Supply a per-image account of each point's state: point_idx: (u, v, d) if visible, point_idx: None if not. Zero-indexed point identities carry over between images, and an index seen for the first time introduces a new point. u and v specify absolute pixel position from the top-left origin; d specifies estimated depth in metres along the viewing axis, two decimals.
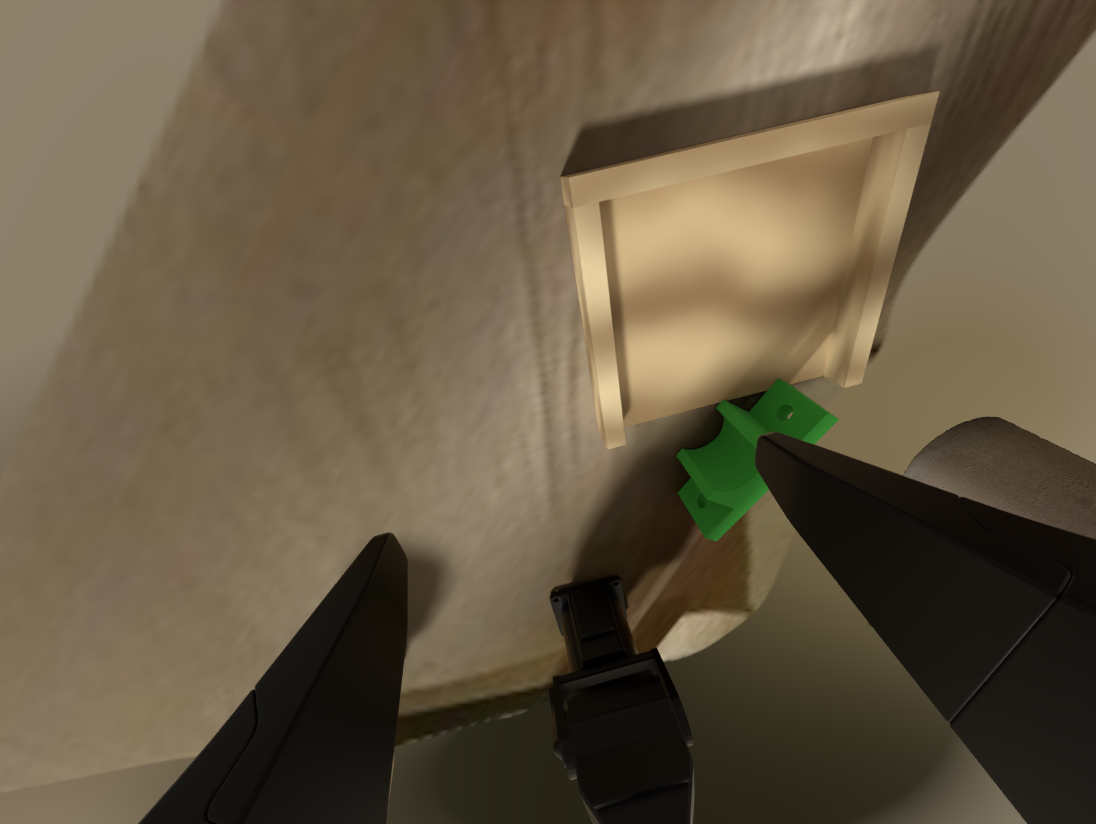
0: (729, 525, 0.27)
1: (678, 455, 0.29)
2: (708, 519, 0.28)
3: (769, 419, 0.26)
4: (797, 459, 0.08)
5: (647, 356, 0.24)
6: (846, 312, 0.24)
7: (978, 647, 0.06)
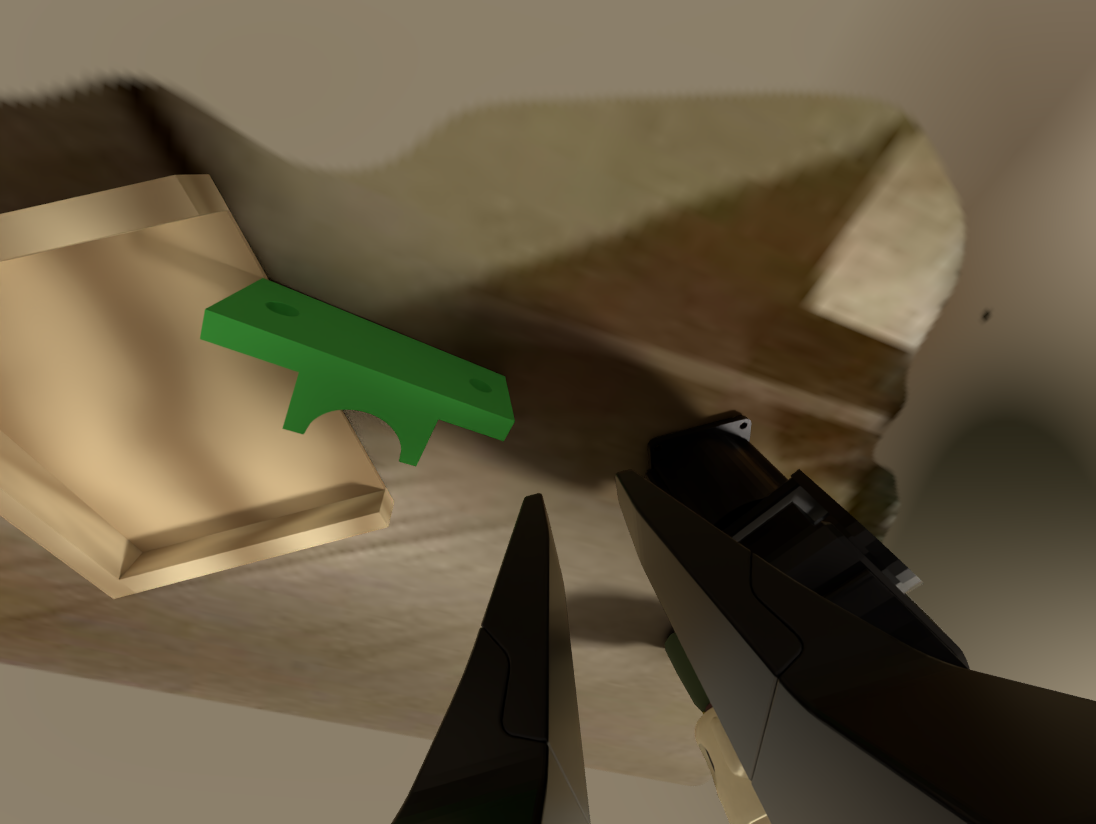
0: (478, 413, 0.17)
1: None
2: None
3: None
4: (632, 503, 0.08)
5: (279, 480, 0.22)
6: (84, 242, 0.14)
7: (749, 713, 0.06)
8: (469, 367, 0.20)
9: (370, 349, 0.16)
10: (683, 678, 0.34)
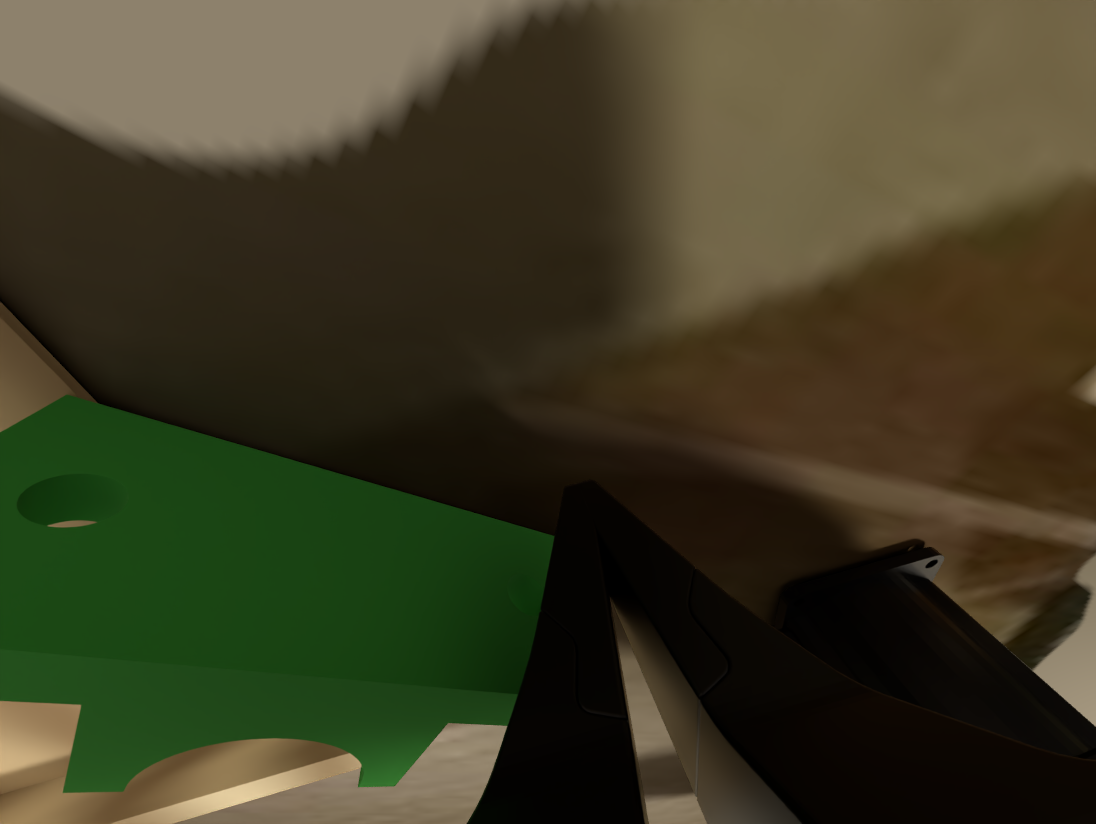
0: None
1: None
2: None
3: None
4: (588, 515, 0.08)
5: None
6: None
7: (687, 731, 0.06)
8: (502, 539, 0.11)
9: (300, 576, 0.07)
10: None
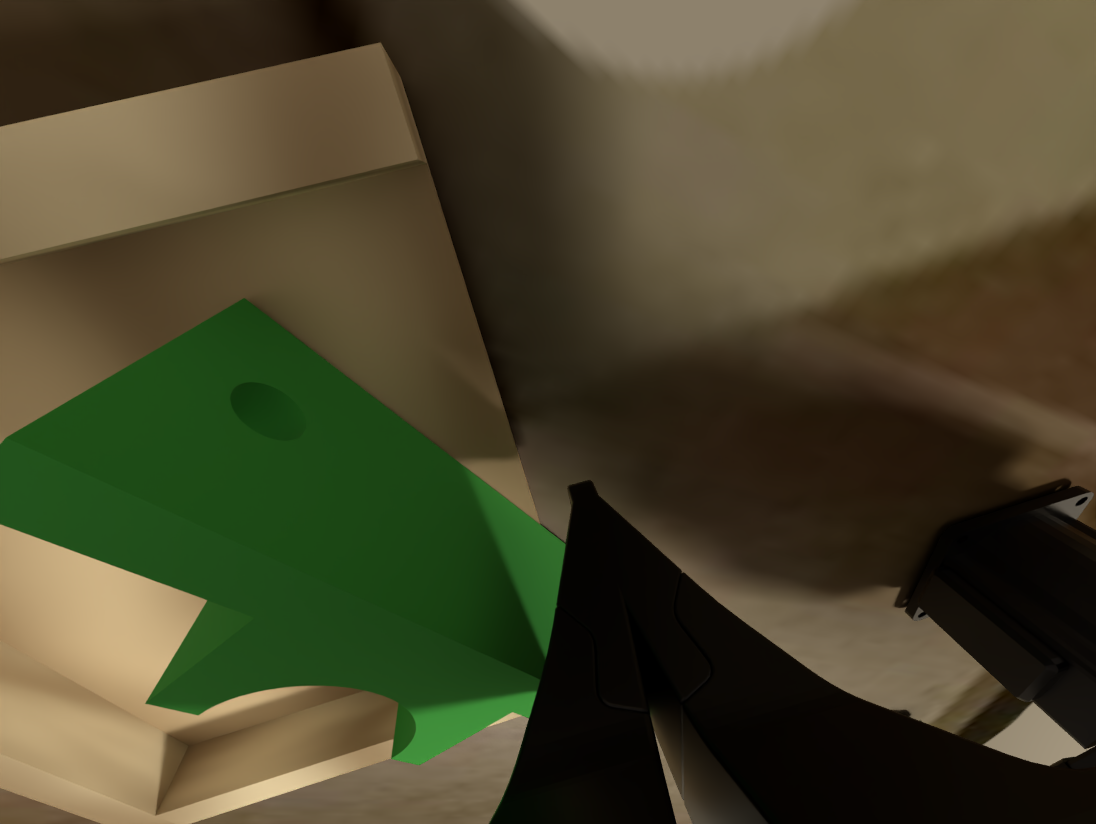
0: None
1: None
2: None
3: None
4: (577, 517, 0.08)
5: None
6: (114, 236, 0.06)
7: (672, 735, 0.06)
8: (552, 550, 0.11)
9: (432, 541, 0.07)
10: None
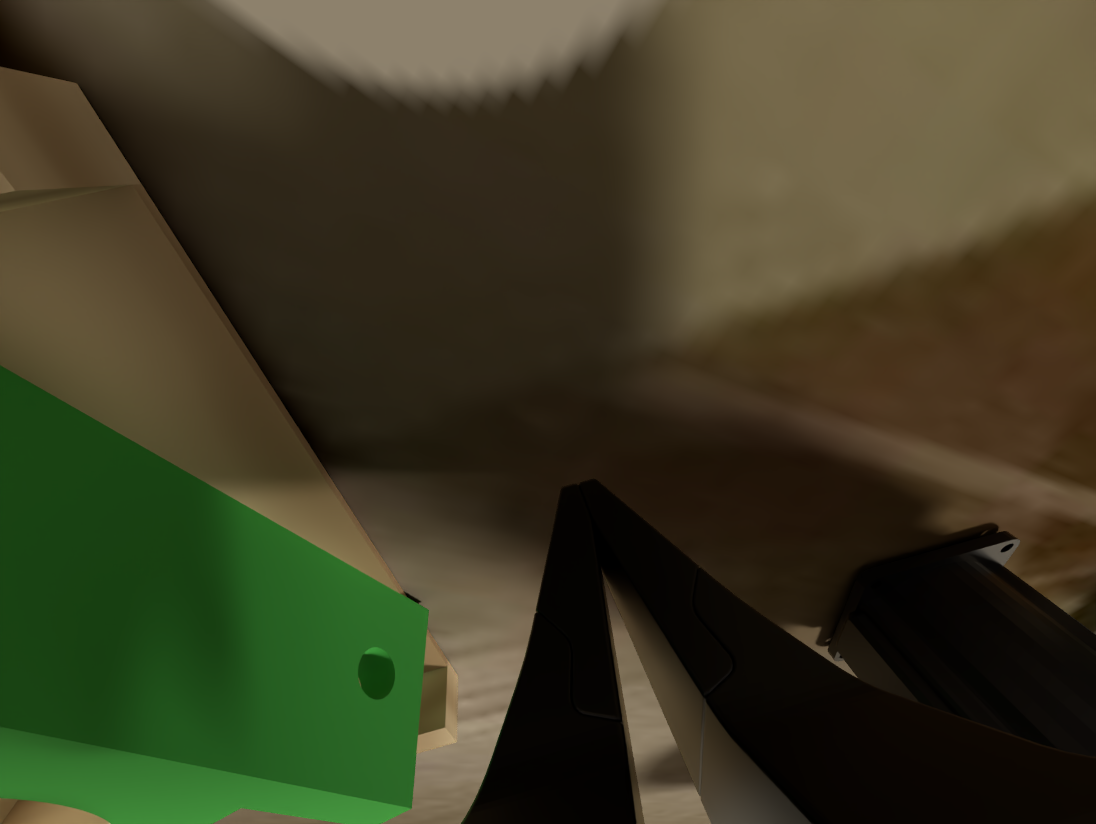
0: (341, 800, 0.08)
1: None
2: None
3: None
4: (591, 514, 0.08)
5: None
6: None
7: (691, 730, 0.06)
8: (373, 604, 0.10)
9: (140, 618, 0.06)
10: None
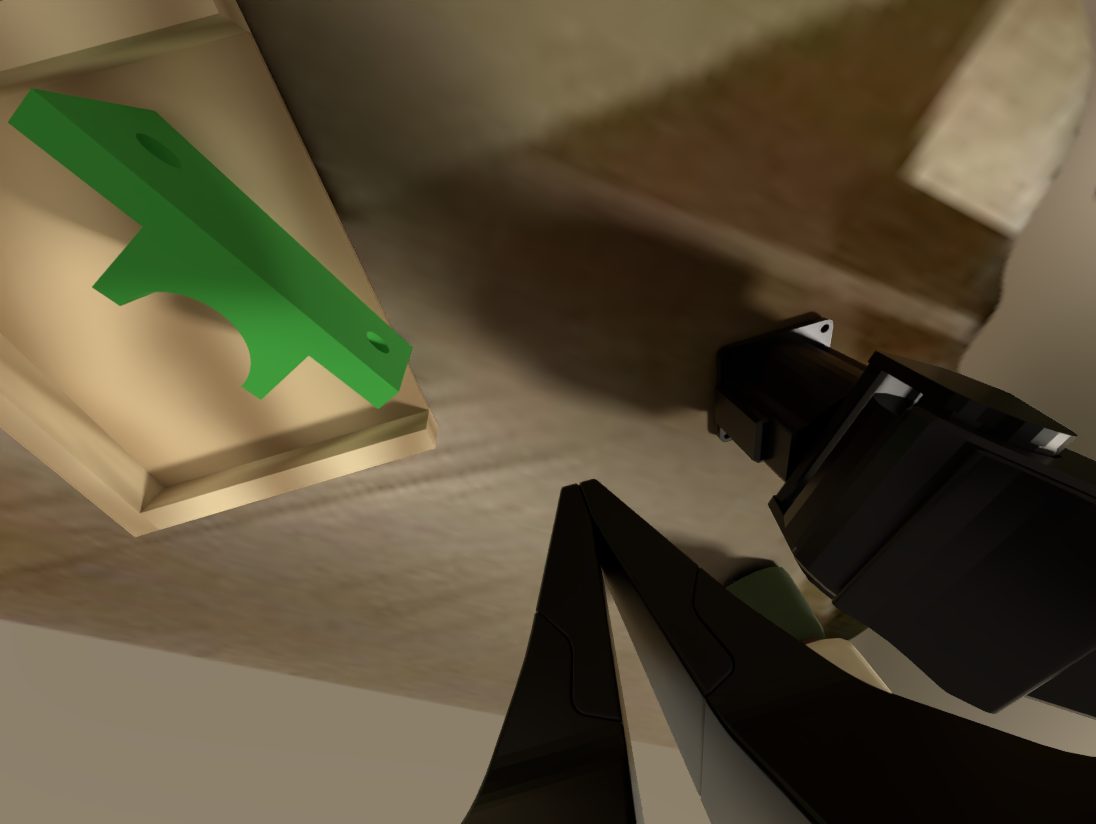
0: (359, 366, 0.14)
1: None
2: None
3: None
4: (591, 514, 0.08)
5: (313, 397, 0.19)
6: (82, 66, 0.12)
7: (691, 730, 0.06)
8: (375, 320, 0.17)
9: (257, 246, 0.13)
10: None
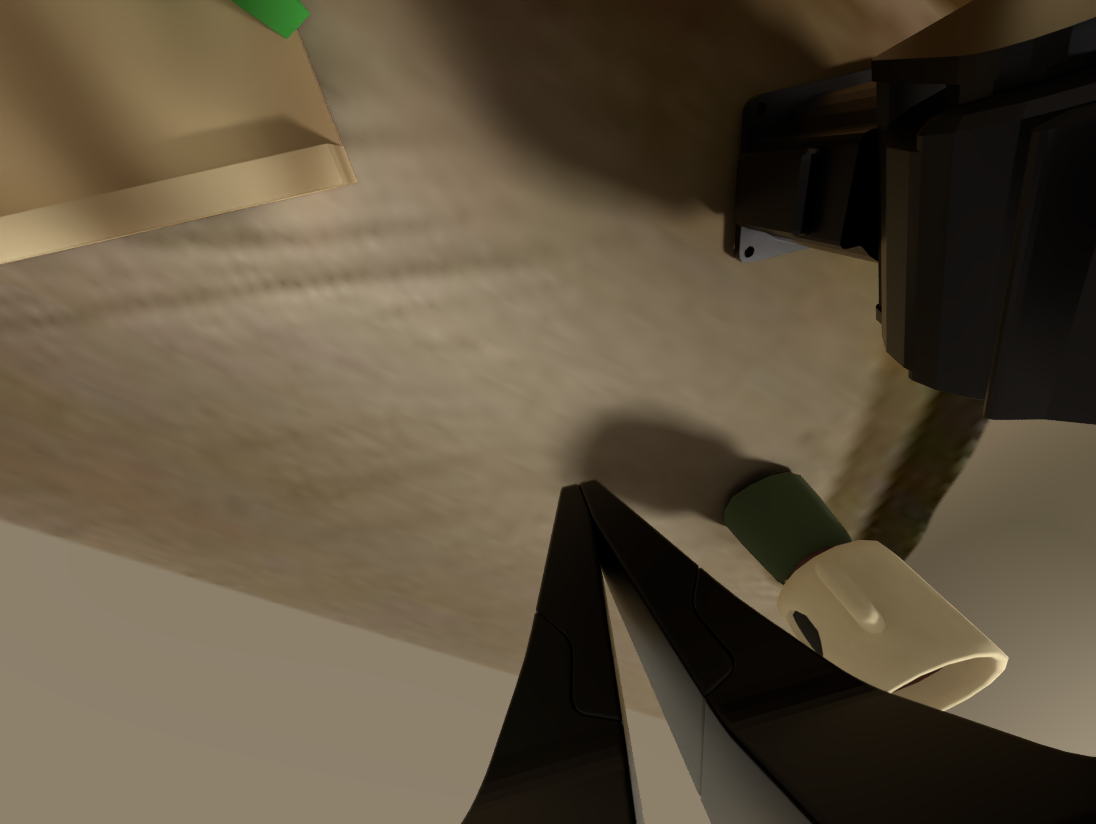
0: None
1: None
2: None
3: None
4: (591, 514, 0.08)
5: (165, 92, 0.13)
6: None
7: (691, 730, 0.06)
8: None
9: None
10: (755, 543, 0.26)
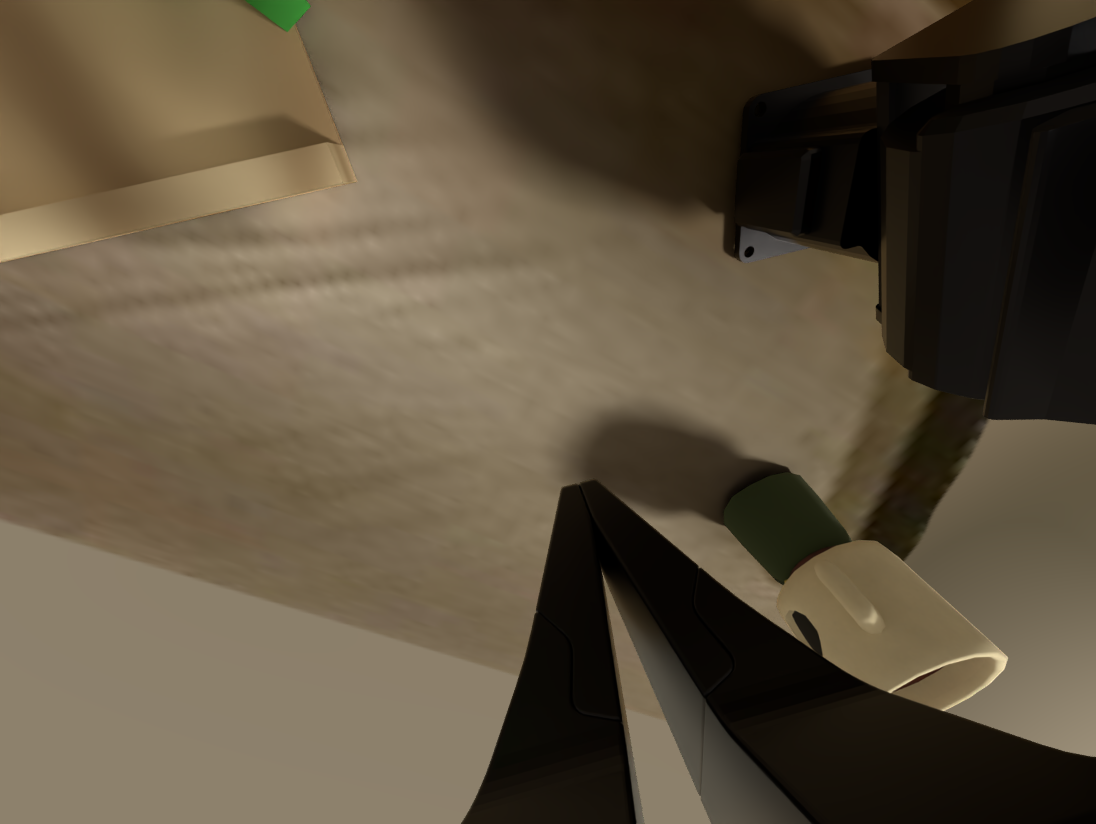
0: None
1: None
2: None
3: None
4: (591, 514, 0.08)
5: (164, 90, 0.13)
6: None
7: (691, 730, 0.06)
8: None
9: None
10: (754, 543, 0.26)
